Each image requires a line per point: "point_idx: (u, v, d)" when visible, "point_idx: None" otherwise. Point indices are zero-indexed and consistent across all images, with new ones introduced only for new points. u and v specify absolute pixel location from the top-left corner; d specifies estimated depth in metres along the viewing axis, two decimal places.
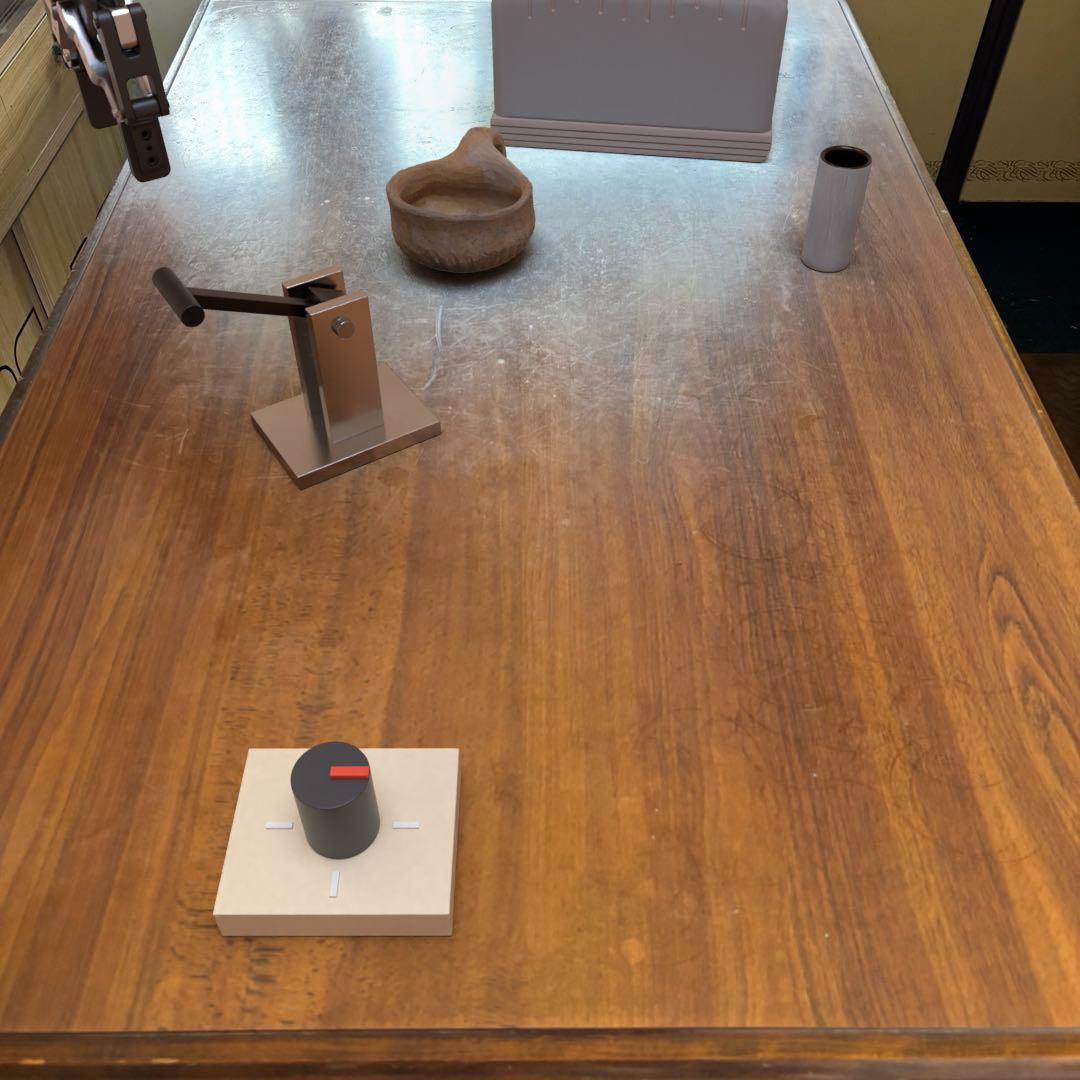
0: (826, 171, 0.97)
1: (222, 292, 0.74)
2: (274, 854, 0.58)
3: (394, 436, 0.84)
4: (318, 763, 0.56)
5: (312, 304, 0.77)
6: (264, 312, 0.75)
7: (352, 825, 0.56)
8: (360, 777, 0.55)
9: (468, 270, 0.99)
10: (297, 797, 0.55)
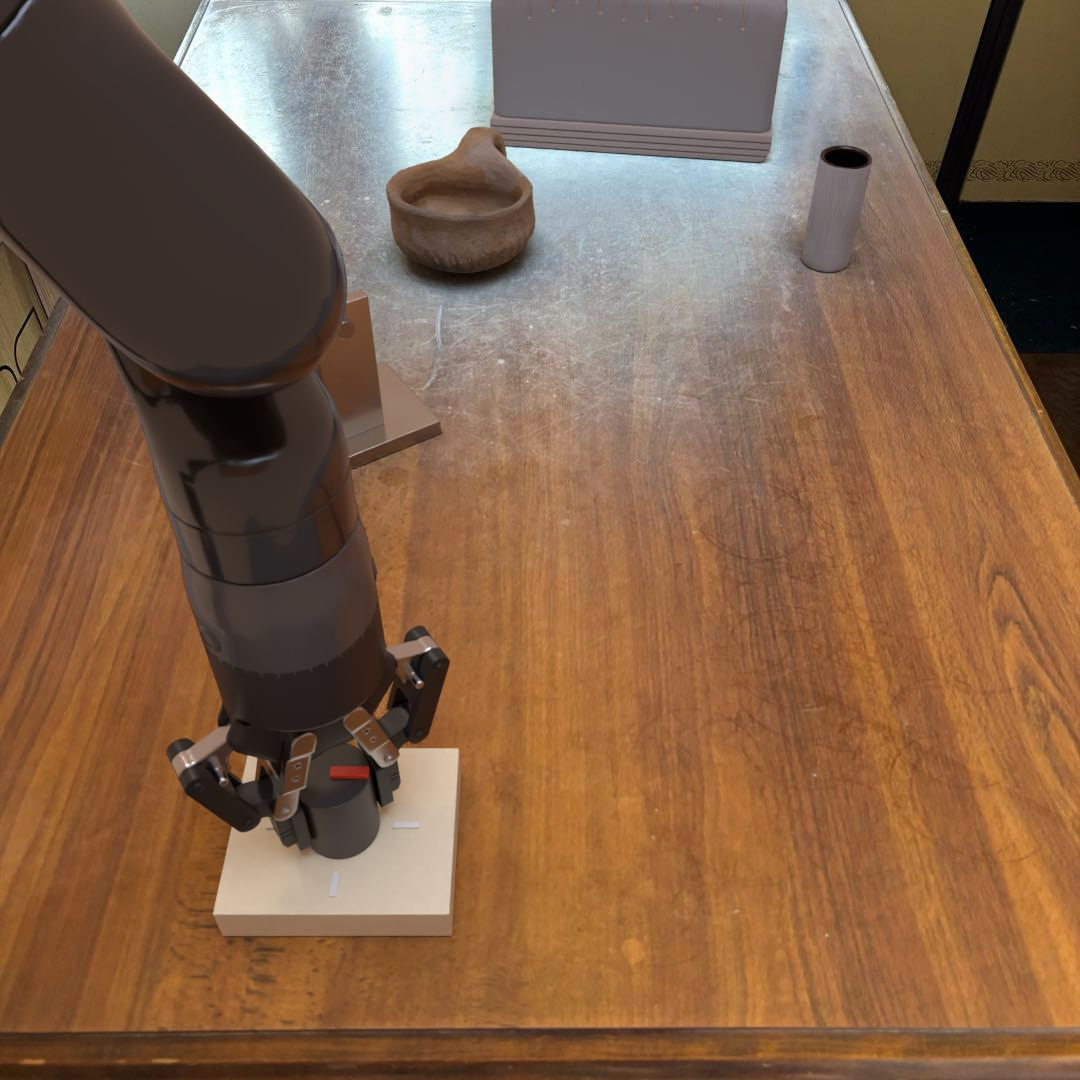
0: (826, 171, 0.97)
1: None
2: (274, 854, 0.58)
3: (394, 436, 0.84)
4: (318, 763, 0.56)
5: None
6: None
7: (352, 825, 0.56)
8: (360, 777, 0.55)
9: (468, 270, 0.99)
10: None
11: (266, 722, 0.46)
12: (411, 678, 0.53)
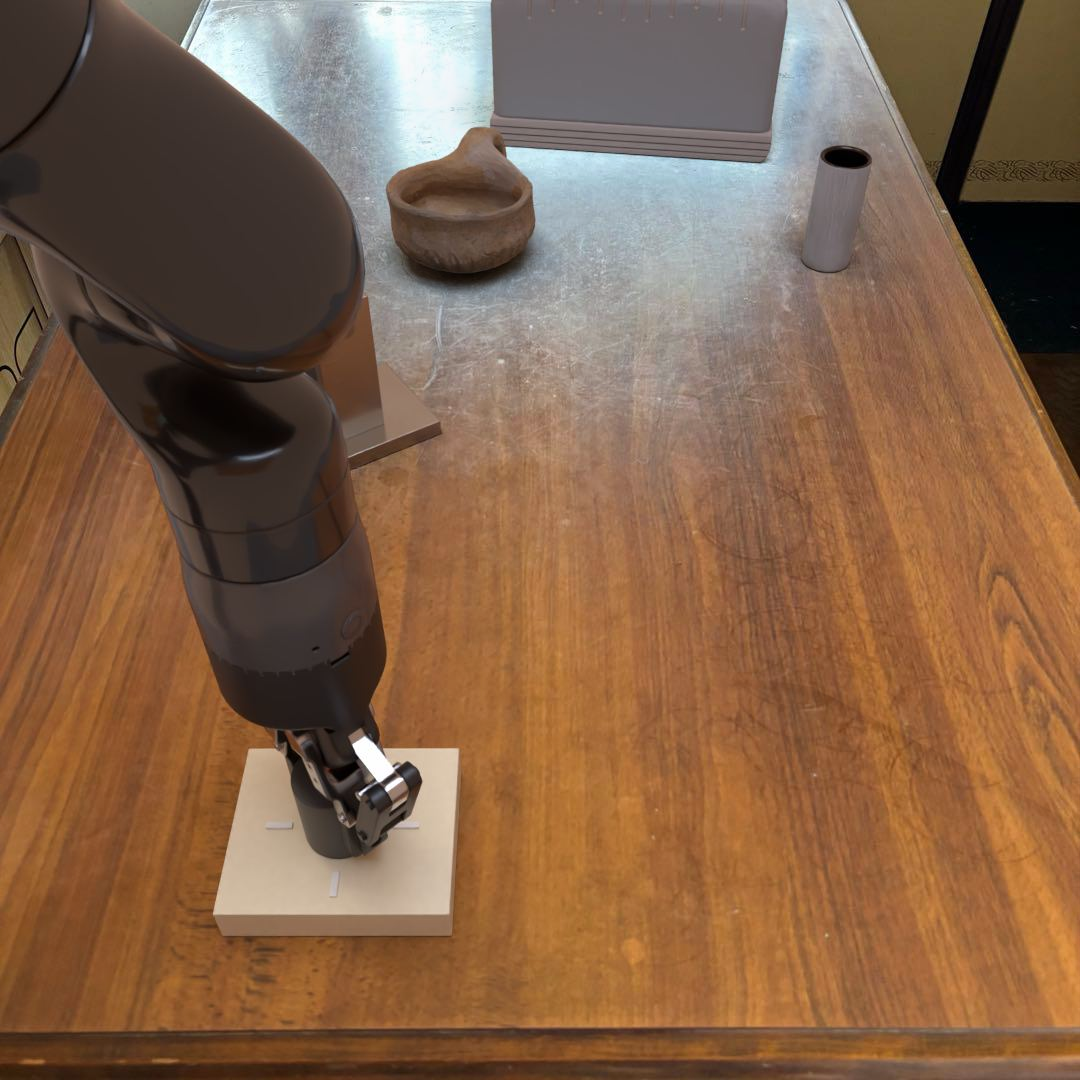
0: (826, 171, 0.97)
1: None
2: (274, 854, 0.58)
3: (394, 436, 0.84)
4: None
5: None
6: None
7: None
8: None
9: (468, 270, 1.00)
10: None
11: (384, 658, 0.49)
12: None
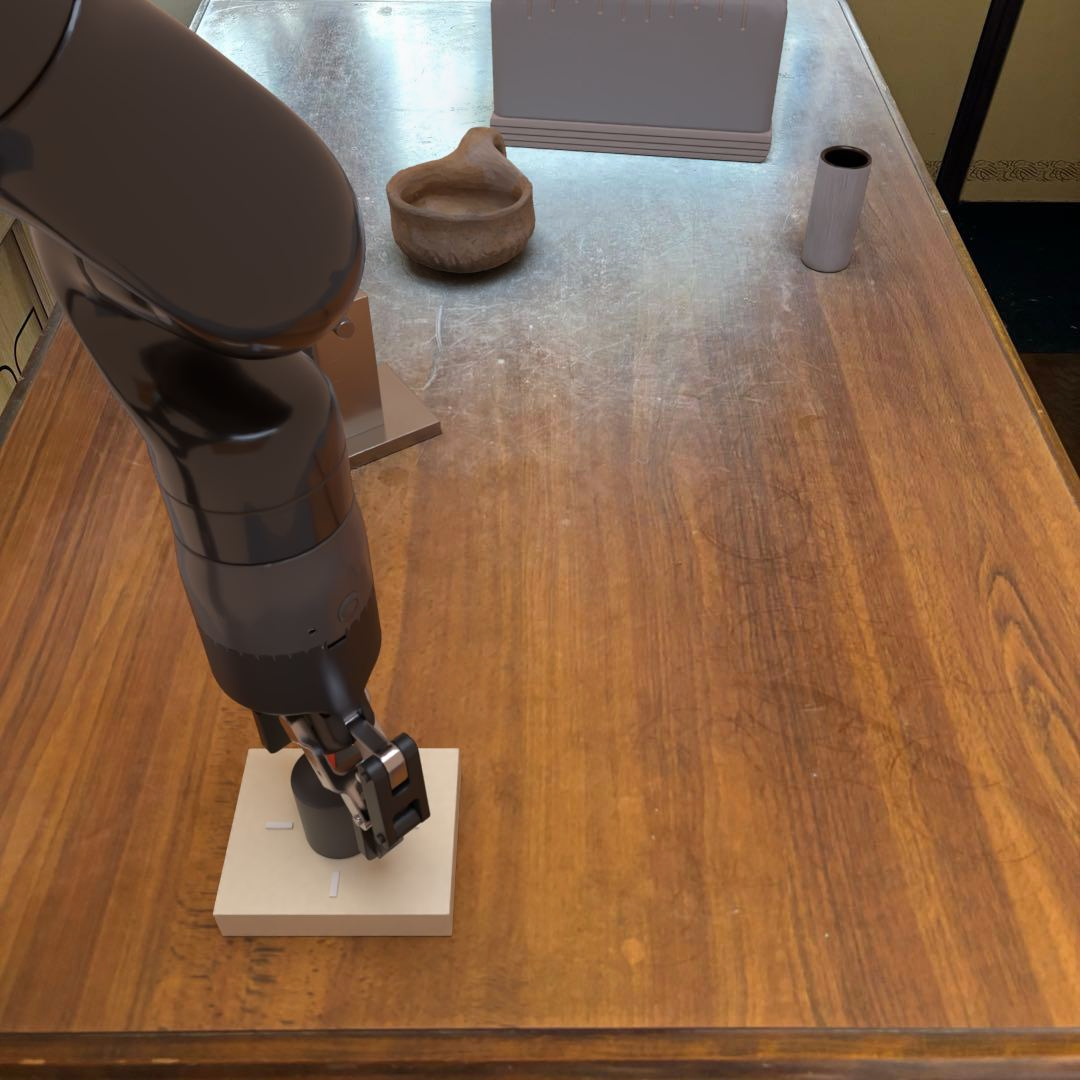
0: (826, 171, 0.97)
1: None
2: (274, 854, 0.58)
3: (394, 436, 0.84)
4: (318, 787, 0.55)
5: None
6: None
7: None
8: None
9: (468, 270, 0.99)
10: None
11: (379, 642, 0.48)
12: None
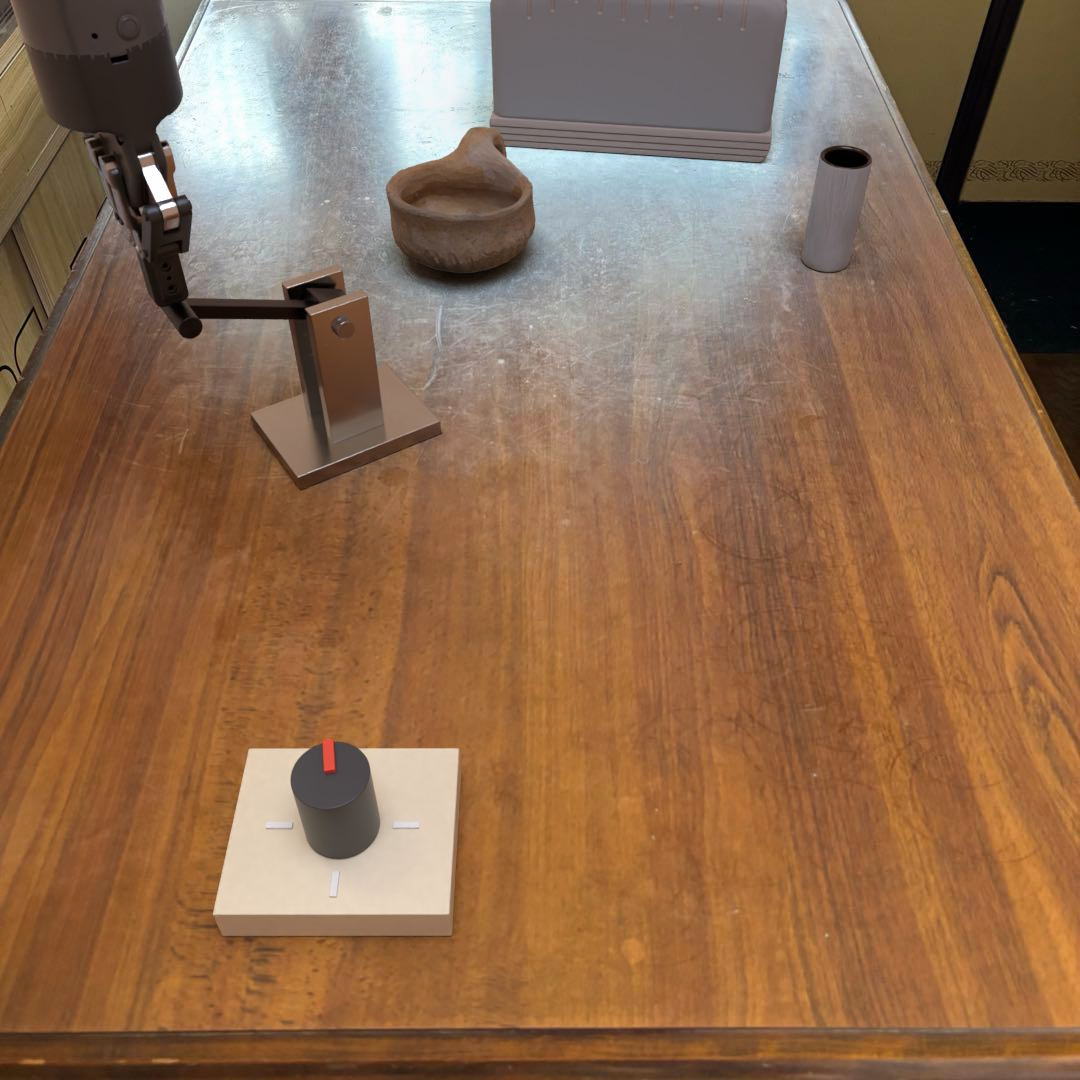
0: (826, 171, 0.97)
1: (220, 300, 0.74)
2: (274, 854, 0.58)
3: (394, 436, 0.84)
4: (318, 787, 0.55)
5: (311, 305, 0.77)
6: (264, 317, 0.76)
7: None
8: (334, 745, 0.57)
9: (468, 270, 0.99)
10: (358, 795, 0.55)
11: (174, 98, 0.61)
12: None
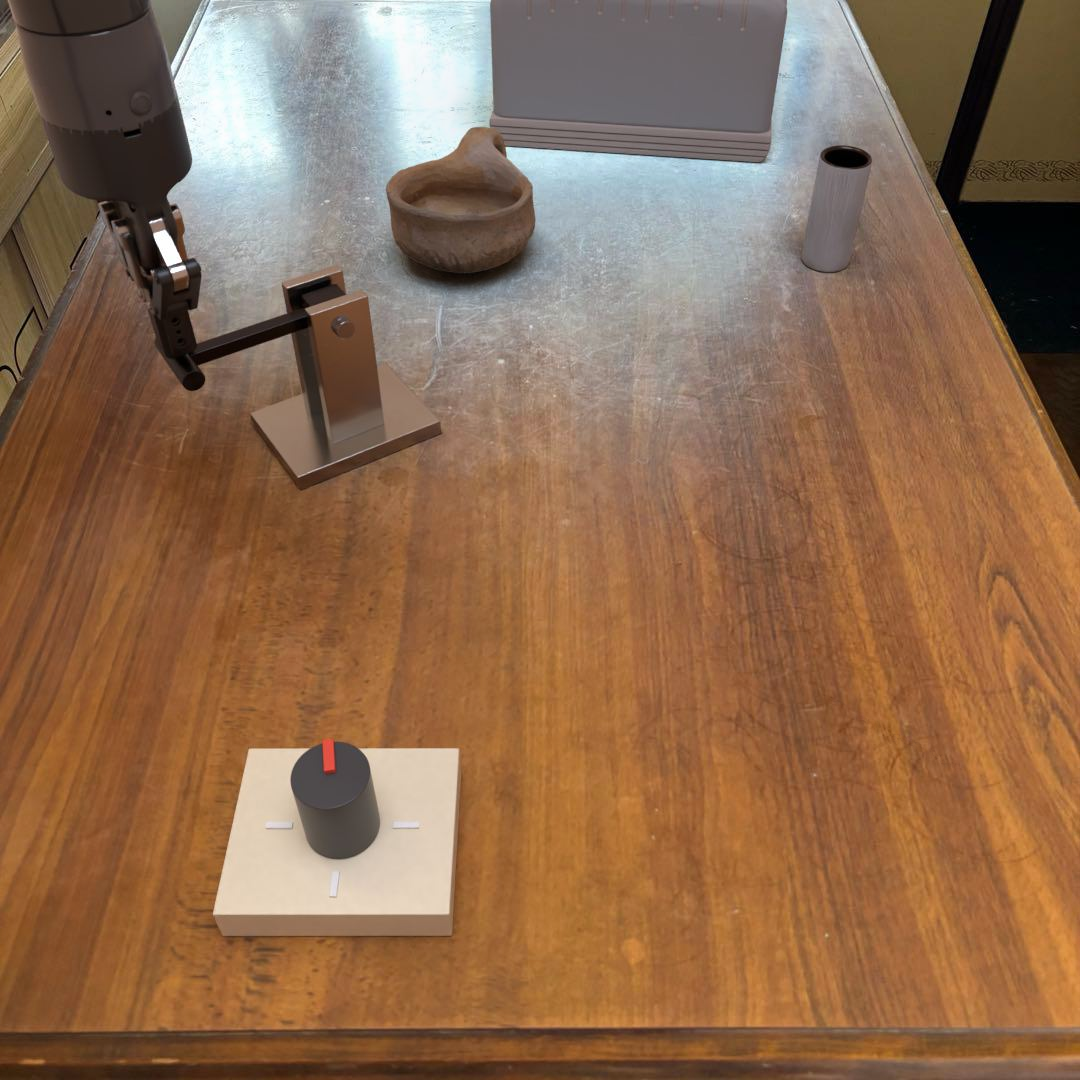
0: (826, 171, 0.97)
1: (219, 338, 0.76)
2: (274, 854, 0.58)
3: (394, 436, 0.84)
4: (318, 787, 0.55)
5: None
6: (265, 340, 0.77)
7: None
8: (334, 745, 0.57)
9: (468, 270, 0.99)
10: (358, 795, 0.55)
11: (184, 166, 0.64)
12: None
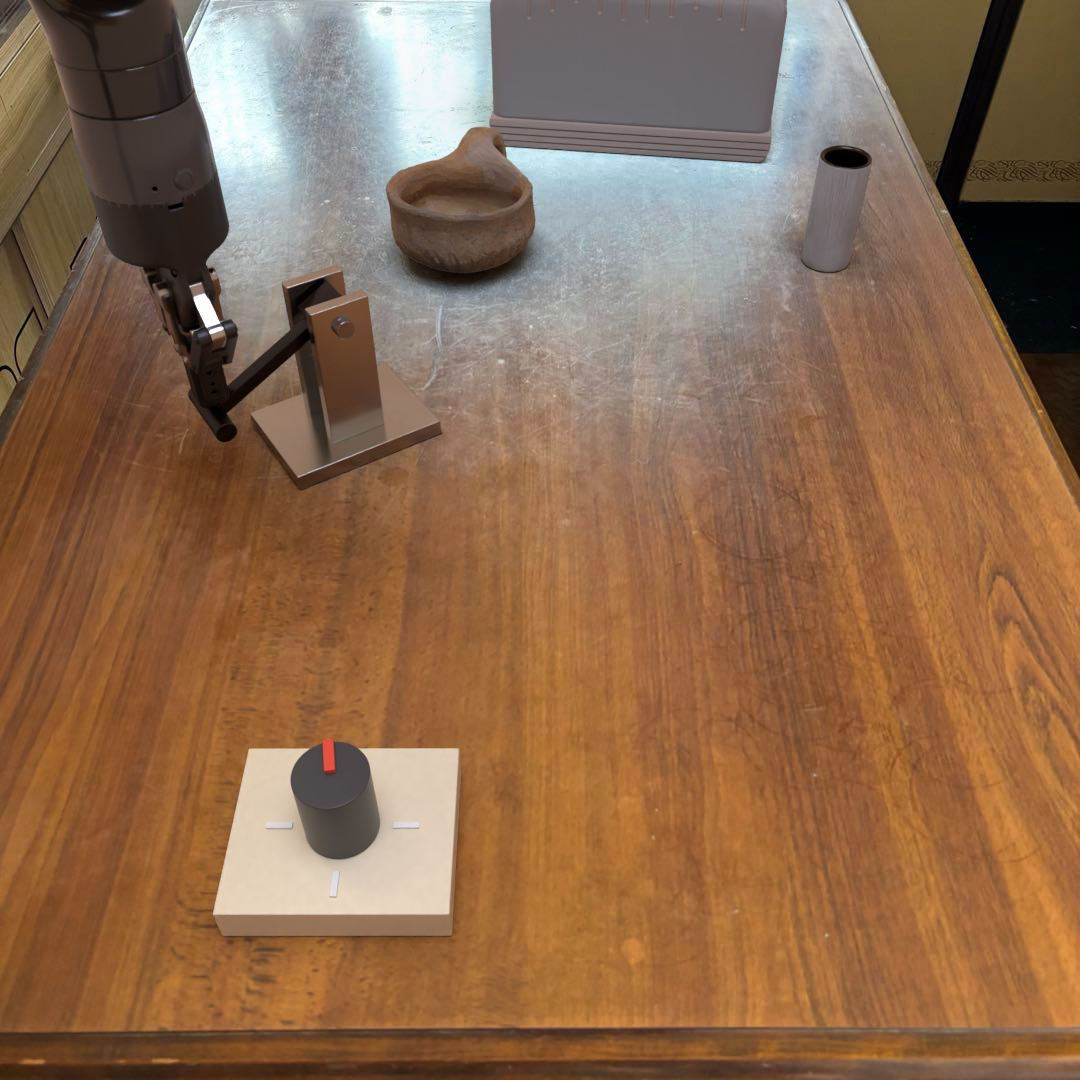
0: (826, 171, 0.97)
1: (238, 379, 0.78)
2: (274, 854, 0.58)
3: (394, 436, 0.84)
4: (318, 787, 0.55)
5: None
6: (280, 363, 0.79)
7: None
8: (334, 745, 0.57)
9: (468, 270, 0.99)
10: (358, 795, 0.55)
11: (222, 233, 0.68)
12: None
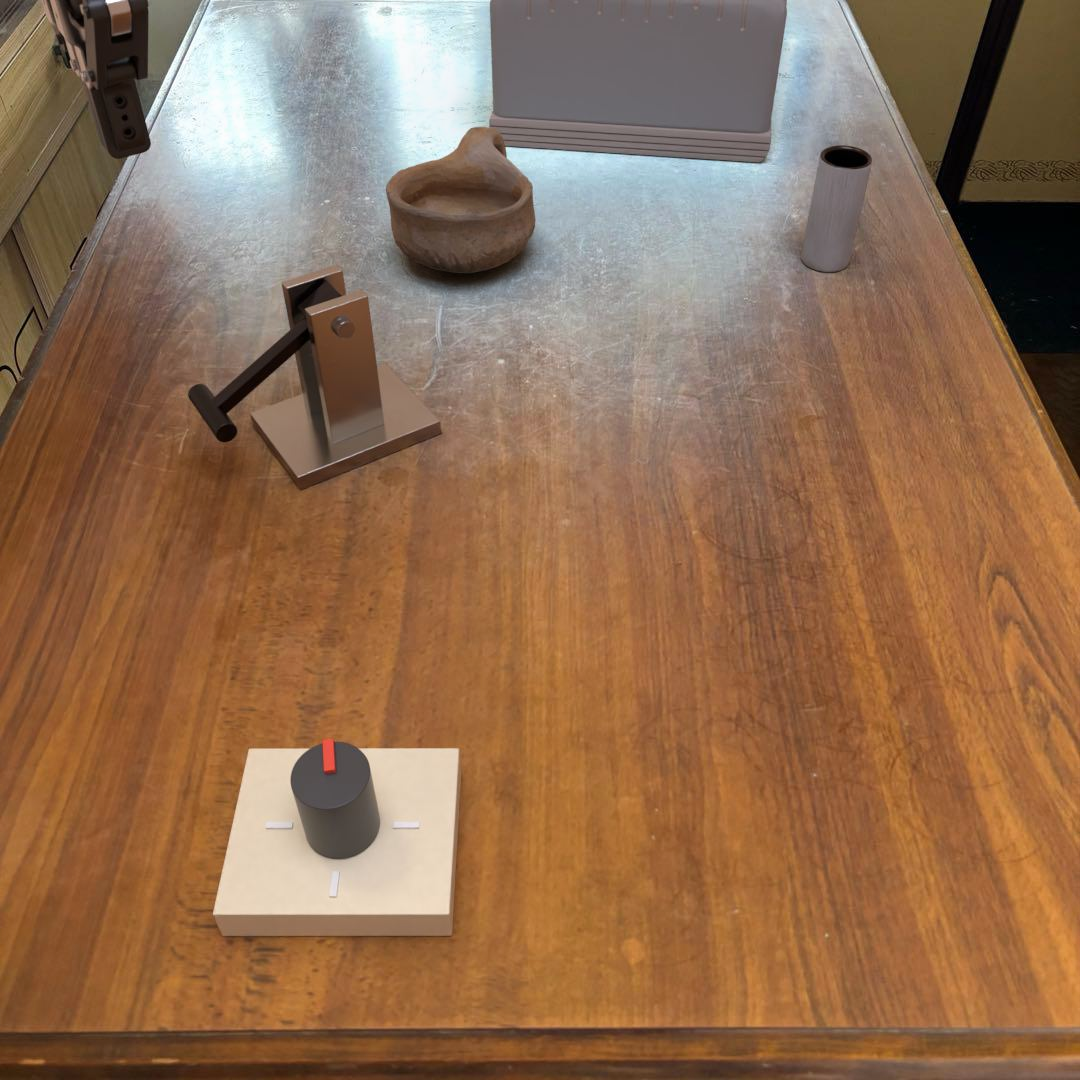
0: (826, 171, 0.97)
1: (238, 379, 0.78)
2: (274, 854, 0.58)
3: (394, 436, 0.84)
4: (318, 787, 0.55)
5: None
6: (280, 363, 0.79)
7: None
8: (334, 745, 0.57)
9: (468, 270, 0.99)
10: (358, 795, 0.55)
11: None
12: None
